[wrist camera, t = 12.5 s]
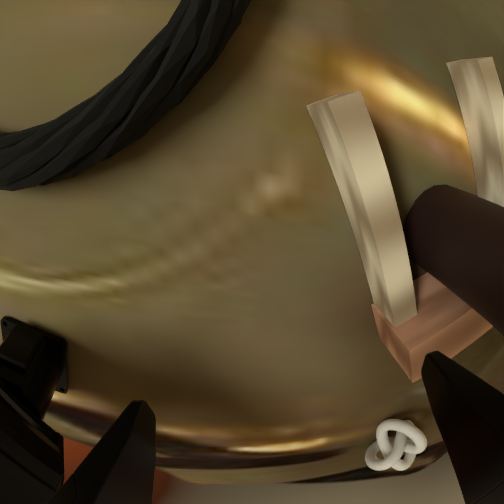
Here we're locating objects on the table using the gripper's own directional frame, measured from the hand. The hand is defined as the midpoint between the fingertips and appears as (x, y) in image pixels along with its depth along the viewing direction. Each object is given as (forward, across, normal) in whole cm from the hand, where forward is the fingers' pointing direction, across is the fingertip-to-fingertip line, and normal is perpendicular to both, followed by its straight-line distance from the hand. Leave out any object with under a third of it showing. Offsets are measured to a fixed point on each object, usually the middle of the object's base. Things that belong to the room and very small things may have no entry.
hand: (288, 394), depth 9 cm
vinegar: (+14, -14, +3) cm, 20 cm away
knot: (+12, -12, +29) cm, 34 cm away
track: (+14, -13, +1) cm, 19 cm away
